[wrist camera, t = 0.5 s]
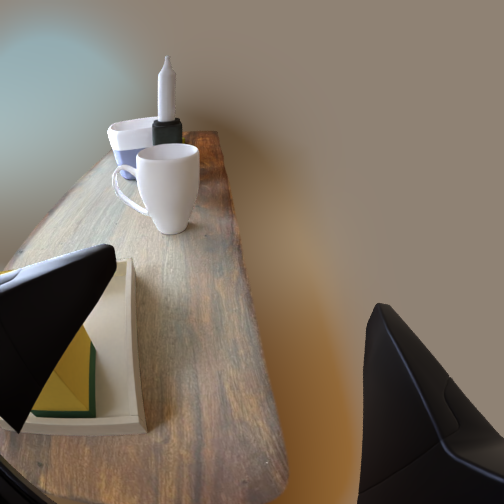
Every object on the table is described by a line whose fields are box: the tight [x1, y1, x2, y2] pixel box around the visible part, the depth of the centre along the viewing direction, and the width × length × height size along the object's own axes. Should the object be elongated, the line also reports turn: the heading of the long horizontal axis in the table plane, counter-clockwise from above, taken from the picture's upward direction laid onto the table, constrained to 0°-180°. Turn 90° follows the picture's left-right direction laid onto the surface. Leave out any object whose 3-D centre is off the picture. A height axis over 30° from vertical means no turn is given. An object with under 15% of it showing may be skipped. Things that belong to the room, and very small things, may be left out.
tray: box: [0, 258, 148, 436], centre depth 22 cm, size 19×14×2 cm
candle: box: [152, 55, 182, 146], centre depth 44 cm, size 5×5×25 cm
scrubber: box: [0, 269, 96, 418], centre depth 16 cm, size 7×6×10 cm
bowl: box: [108, 117, 158, 179], centre depth 57 cm, size 15×15×11 cm
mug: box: [112, 144, 199, 234], centre depth 37 cm, size 12×8×11 cm
